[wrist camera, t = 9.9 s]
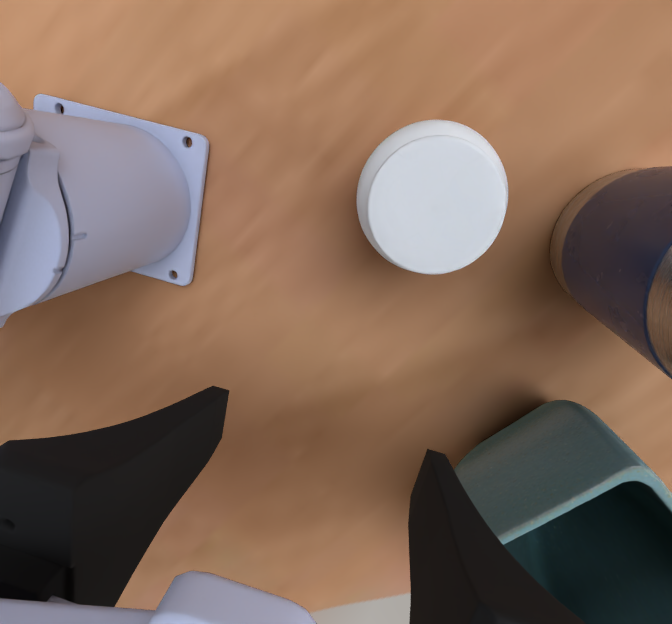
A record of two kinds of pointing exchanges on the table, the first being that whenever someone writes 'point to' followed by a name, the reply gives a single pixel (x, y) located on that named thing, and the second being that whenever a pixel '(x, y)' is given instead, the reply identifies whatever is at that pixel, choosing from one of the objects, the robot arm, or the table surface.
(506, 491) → the flower pot
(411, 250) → the pill bottle
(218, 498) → the table surface
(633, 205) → the tin can
